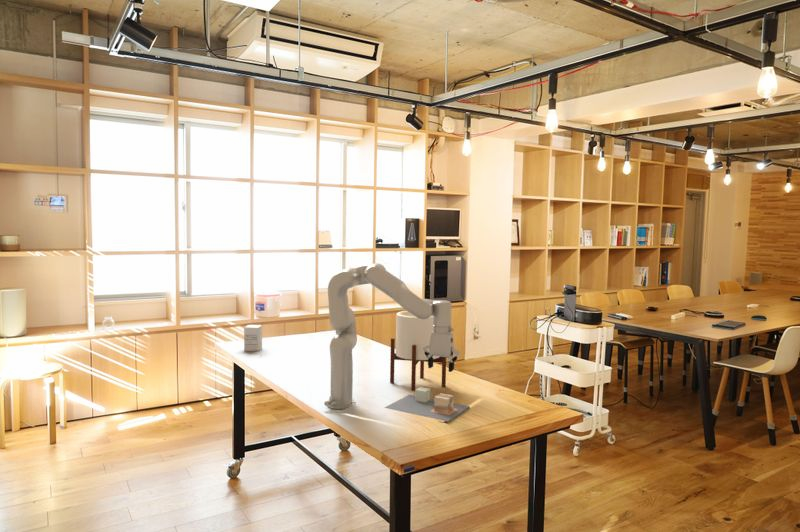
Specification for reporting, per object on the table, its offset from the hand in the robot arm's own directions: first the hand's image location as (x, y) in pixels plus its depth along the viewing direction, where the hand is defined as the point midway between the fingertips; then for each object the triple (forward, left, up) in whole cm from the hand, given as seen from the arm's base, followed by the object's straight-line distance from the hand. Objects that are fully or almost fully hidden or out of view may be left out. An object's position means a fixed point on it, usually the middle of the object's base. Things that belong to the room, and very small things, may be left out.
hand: (440, 369), depth 232 cm
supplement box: (+39, +149, -18) cm, 155 cm away
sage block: (+6, +11, -17) cm, 21 cm away
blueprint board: (-1, +5, -18) cm, 19 cm away
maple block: (-1, -3, -17) cm, 17 cm away
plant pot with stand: (+29, +26, -18) cm, 43 cm away
